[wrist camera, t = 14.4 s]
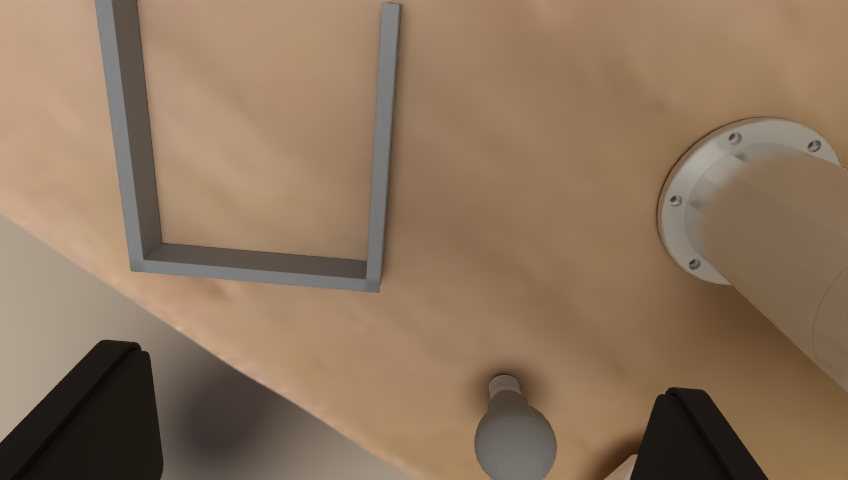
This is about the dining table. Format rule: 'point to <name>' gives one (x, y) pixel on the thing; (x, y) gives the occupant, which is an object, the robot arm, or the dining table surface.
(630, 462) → the geodesic sphere
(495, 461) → the light bulb
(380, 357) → the dining table surface
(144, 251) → the grey u-shaped frame
